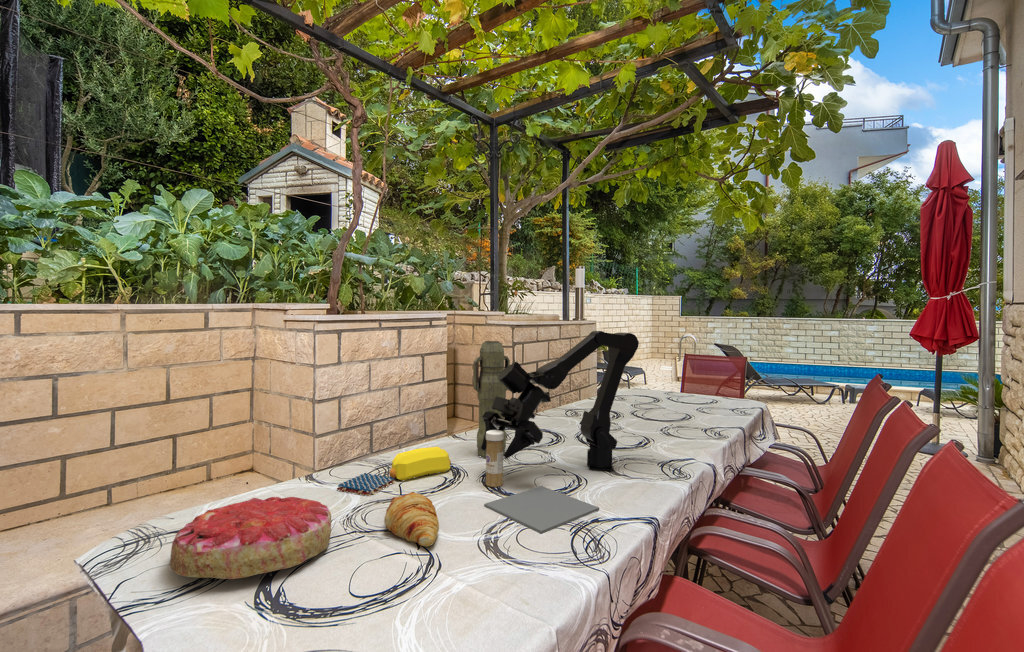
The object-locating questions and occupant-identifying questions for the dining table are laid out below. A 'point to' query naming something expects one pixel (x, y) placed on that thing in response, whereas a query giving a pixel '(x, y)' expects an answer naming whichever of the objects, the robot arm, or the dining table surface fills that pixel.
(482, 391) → the thermos
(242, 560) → the cake
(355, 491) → the woven mat
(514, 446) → the robot arm
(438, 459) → the yellow elongated block
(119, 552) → the dining table surface
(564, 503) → the mat
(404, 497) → the croissant
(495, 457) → the sprinkles bottle
